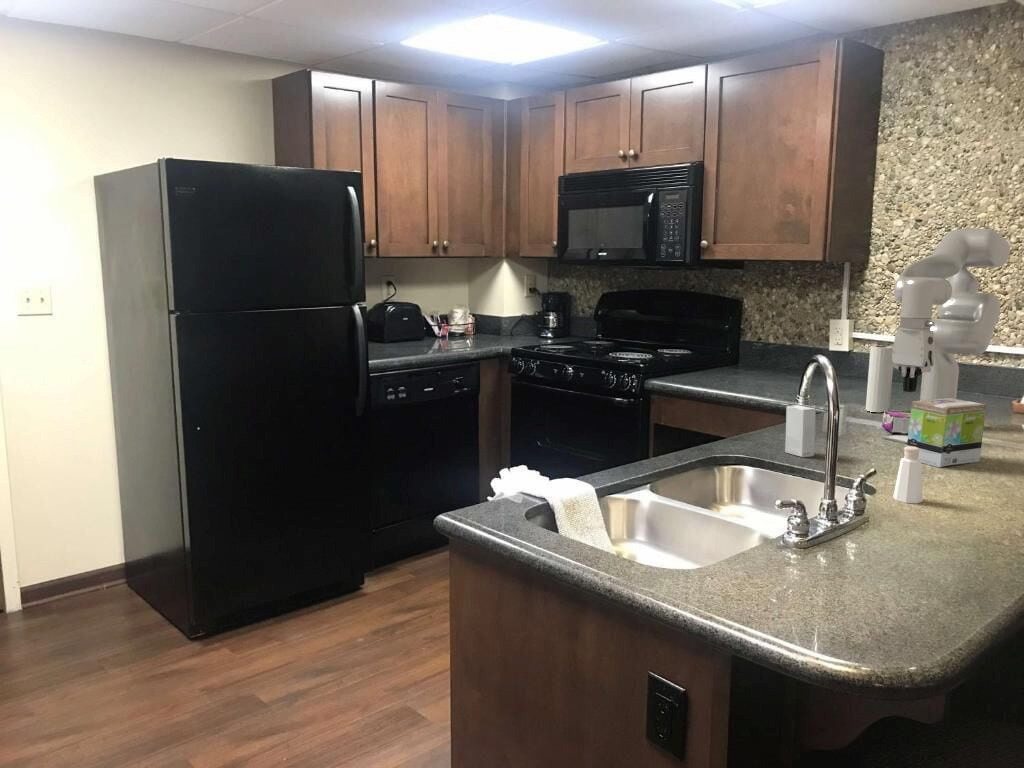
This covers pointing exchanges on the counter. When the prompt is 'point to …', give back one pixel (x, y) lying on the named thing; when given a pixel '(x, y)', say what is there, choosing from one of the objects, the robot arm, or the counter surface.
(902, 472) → the pepper shaker
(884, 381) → the paper towel roll
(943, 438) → the tea box
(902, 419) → the candy bar box
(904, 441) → the mat
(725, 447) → the counter surface
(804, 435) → the skincare box
